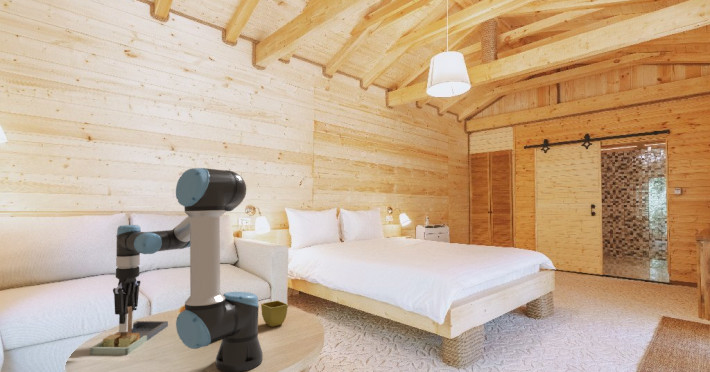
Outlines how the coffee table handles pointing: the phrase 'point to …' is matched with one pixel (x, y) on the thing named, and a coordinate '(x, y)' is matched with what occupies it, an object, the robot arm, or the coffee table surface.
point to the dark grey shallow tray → (148, 328)
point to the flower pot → (274, 312)
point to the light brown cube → (127, 340)
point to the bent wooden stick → (129, 325)
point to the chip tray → (117, 348)
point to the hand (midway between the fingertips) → (126, 329)
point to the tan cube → (111, 341)
